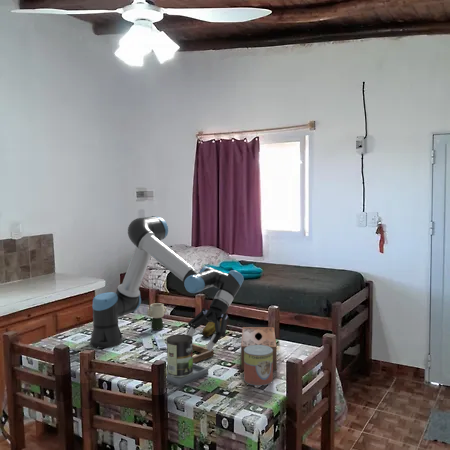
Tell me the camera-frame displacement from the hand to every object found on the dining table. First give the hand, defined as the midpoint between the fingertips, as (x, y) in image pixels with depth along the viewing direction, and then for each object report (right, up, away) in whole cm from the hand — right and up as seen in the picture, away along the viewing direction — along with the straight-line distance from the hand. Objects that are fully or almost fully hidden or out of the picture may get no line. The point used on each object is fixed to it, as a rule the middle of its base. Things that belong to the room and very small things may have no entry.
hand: (196, 345), depth 194 cm
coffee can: (-6, -9, -6) cm, 13 cm away
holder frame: (-4, -8, +15) cm, 17 cm away
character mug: (-24, -5, +55) cm, 60 cm away
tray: (-6, -10, -6) cm, 13 cm away
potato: (+5, -6, +45) cm, 45 cm away
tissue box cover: (+26, -9, +12) cm, 30 cm away
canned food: (+25, -11, -11) cm, 29 cm away
